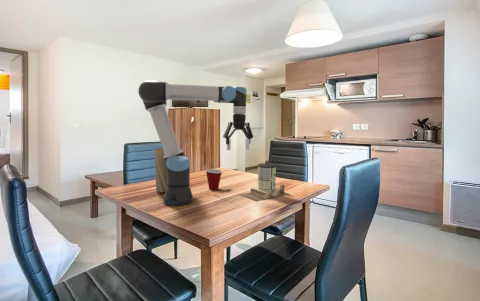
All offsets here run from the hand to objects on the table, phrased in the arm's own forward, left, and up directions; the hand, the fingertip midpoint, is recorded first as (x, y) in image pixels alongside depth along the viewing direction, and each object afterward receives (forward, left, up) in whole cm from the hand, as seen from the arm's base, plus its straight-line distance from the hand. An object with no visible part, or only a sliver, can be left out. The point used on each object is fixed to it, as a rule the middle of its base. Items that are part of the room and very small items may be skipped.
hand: (238, 149), depth 161 cm
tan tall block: (-35, +27, -26) cm, 51 cm away
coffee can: (+8, -17, -21) cm, 29 cm away
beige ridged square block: (+7, -17, -24) cm, 31 cm away
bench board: (+6, -17, -26) cm, 32 cm away
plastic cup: (-8, +15, -26) cm, 31 cm away
